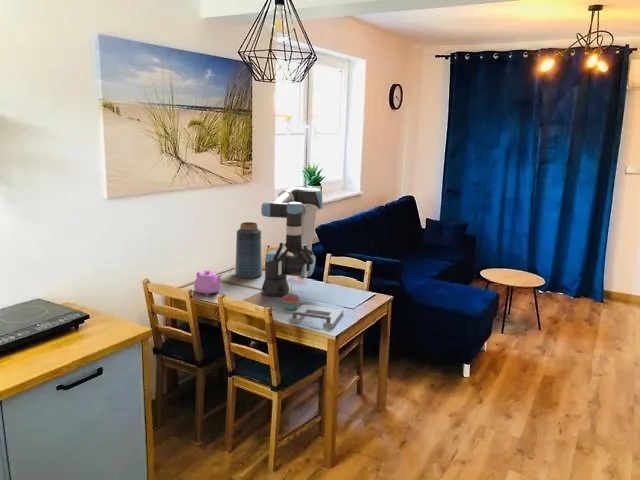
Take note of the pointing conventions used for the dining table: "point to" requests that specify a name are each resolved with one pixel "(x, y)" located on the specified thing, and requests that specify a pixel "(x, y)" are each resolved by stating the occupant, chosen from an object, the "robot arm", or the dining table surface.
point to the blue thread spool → (248, 251)
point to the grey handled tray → (317, 314)
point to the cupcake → (291, 300)
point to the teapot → (207, 282)
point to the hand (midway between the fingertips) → (292, 275)
